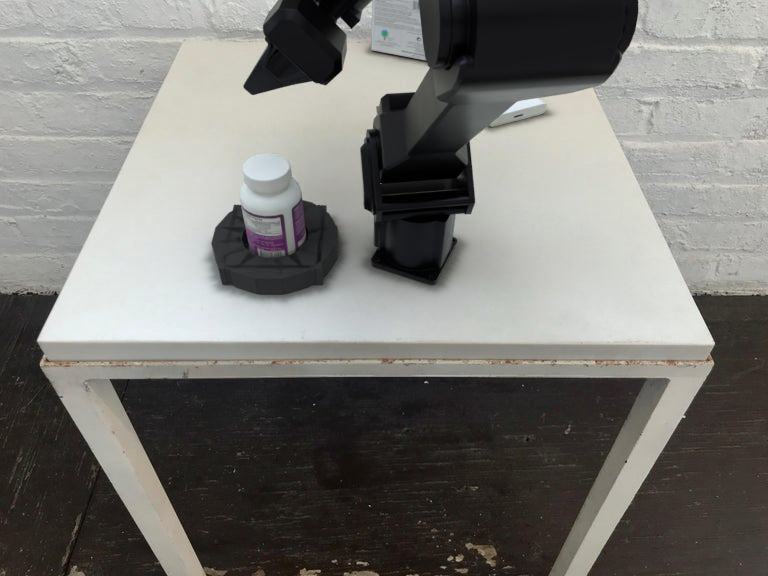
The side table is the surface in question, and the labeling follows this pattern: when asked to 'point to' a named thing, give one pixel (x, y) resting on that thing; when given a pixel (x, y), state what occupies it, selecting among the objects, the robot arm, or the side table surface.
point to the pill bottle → (272, 206)
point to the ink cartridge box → (397, 28)
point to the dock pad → (276, 271)
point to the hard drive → (521, 111)
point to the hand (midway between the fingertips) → (258, 65)
